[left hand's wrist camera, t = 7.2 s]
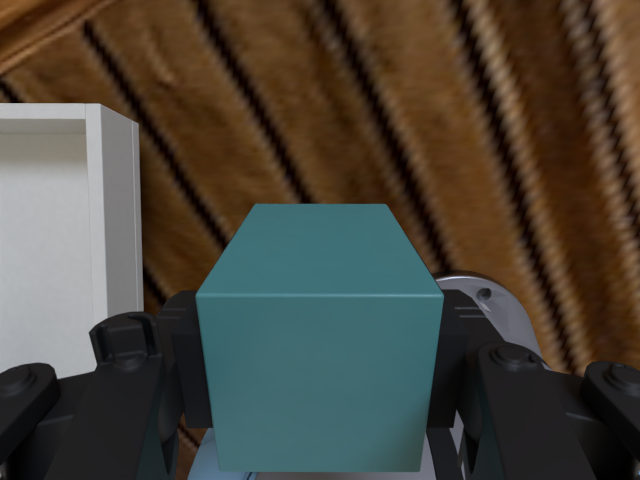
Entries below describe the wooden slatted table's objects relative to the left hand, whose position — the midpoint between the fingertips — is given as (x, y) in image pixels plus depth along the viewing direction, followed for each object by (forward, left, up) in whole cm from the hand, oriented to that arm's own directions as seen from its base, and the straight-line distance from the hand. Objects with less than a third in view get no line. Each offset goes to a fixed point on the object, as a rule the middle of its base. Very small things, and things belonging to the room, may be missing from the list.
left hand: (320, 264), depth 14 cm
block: (0, 0, 0) cm, 0 cm away
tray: (+4, +22, -13) cm, 26 cm away
